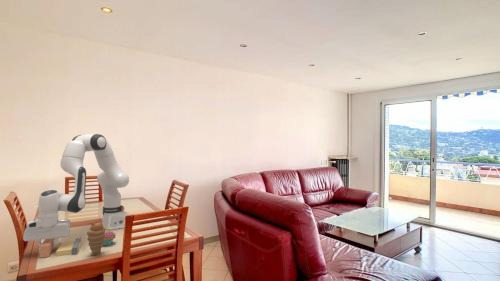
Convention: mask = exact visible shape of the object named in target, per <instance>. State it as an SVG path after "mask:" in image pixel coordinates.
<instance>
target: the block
mask: <svg viewBox="0 0 500 281" xmlns="http://www.w3.org/2000/svg"><path fill="white" fill-rule="evenodd" d="M54 241H55V240H54V238H50V239H43V241H42V242H41V243H42V244H41V246H40V248H39V259H42V258H48V257H50V256H51V254H53V251H54V249H55V246H52V242H54Z"/></svg>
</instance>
